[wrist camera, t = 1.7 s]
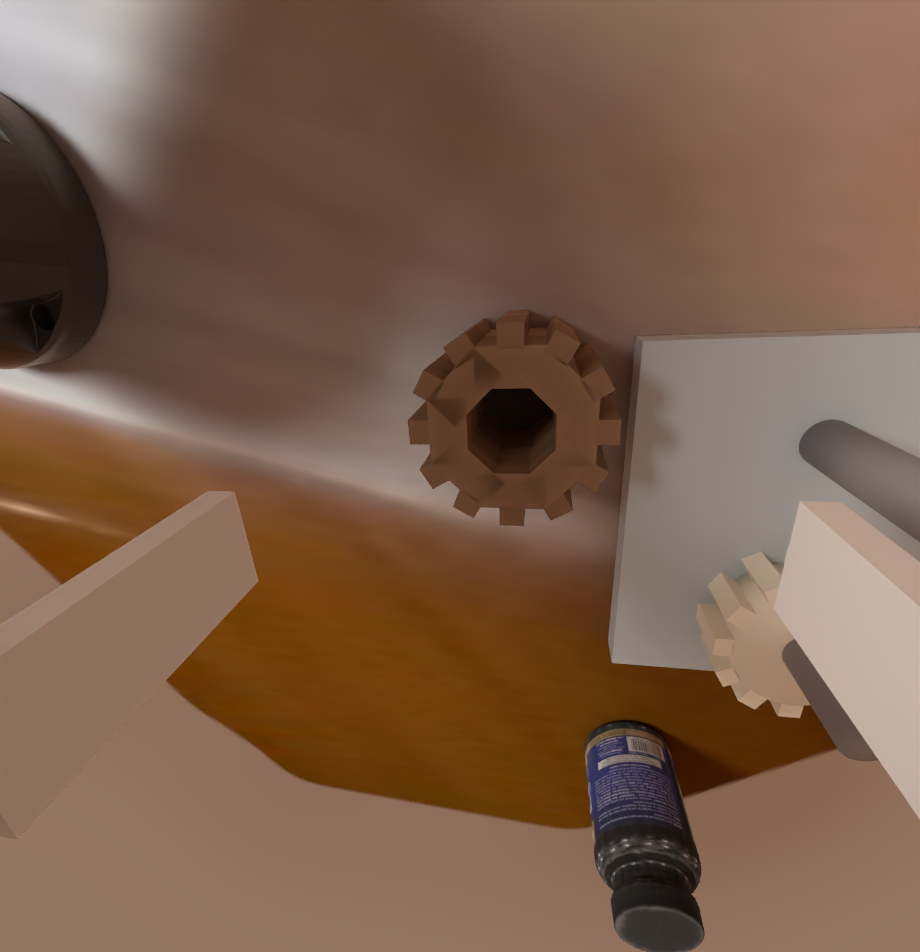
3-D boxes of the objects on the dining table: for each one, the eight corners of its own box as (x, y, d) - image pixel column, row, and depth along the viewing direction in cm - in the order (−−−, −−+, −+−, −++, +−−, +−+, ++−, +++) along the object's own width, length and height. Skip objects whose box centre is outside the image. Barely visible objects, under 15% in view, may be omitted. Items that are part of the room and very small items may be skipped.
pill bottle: (567, 738, 36) (576, 915, 26) (634, 704, 34) (672, 885, 24) (618, 784, 37) (646, 972, 27) (686, 755, 35) (744, 948, 25)
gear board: (608, 640, 32) (633, 785, 23) (635, 336, 24) (690, 372, 15) (911, 662, 29) (1079, 840, 20) (1052, 323, 21) (1431, 358, 12)
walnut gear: (445, 468, 29) (417, 522, 23) (435, 313, 25) (398, 326, 19) (596, 470, 27) (612, 529, 21) (607, 306, 24) (630, 317, 18)
